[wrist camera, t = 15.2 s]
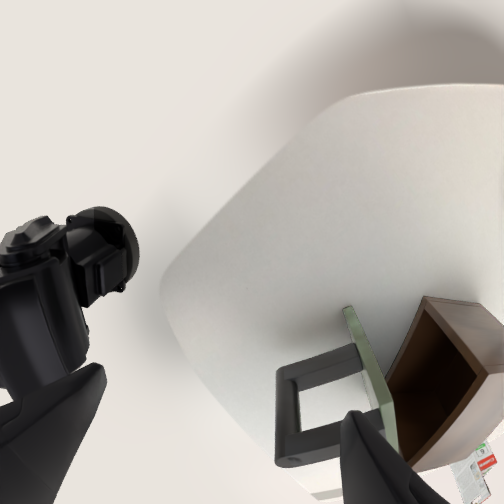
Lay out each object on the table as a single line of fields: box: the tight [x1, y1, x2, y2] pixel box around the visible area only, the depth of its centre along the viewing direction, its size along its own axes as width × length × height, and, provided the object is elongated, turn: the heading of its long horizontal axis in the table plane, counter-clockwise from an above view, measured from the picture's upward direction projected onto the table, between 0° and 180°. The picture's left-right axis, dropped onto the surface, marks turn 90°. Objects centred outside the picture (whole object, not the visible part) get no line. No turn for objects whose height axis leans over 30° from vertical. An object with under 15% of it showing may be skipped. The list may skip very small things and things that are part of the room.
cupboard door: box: [275, 306, 399, 468], centre depth 18 cm, size 7×12×11 cm, turn 24°
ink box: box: [450, 439, 497, 504], centre depth 21 cm, size 4×8×15 cm, turn 7°
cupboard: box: [385, 296, 504, 473], centre depth 18 cm, size 8×12×11 cm
